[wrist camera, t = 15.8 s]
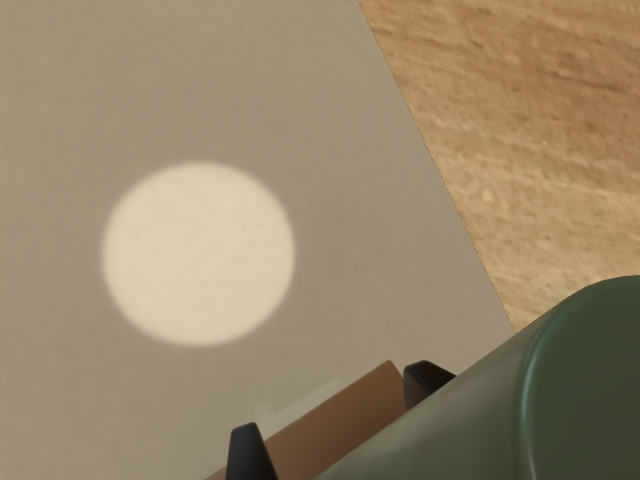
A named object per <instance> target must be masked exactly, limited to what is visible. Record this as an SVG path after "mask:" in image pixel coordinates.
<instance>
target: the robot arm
mask: <svg viewBox="0 0 640 480" xmlns="http://www.w3.org/2000/svg"><path fill="white" fill-rule="evenodd" d="M456 376H457V375H455V374H453V373H451V372H449V371H447V370H445V369H443V368H441V367H439V366H438V365H436V364H434V363H432V362H430V361H427V360H421V361H418V362H416V363H413V364H410V365H407V366H406V367H405V368H404V370H403V384H404V401H405V405H406V409H407V411H409V410H410V409H412V408H413V407H414V406H416V405H417V404H419V403H420V402H421V401H423V400H424V399H426V398H427V397H428V396H430V395H431V394H433V393H434V392H435V391H437V390H438V389H440V388H441V387H442V386H444V385H445V384H447V383H448V382H449V381H451V380H452V379H454V378H455V377H456ZM225 480H279V478H278V475H277V473H276V470H275V467H274V465H273V463H272V460H271V458H270V455H269V453H268V450H267V448H266V445H265V443H264V440H263V438H262V435H261V433H260V430H259V428H258V426H257V424H256V423H255V422H250V423H247V424H244V425H242V426H239V427H236V428H234V429H233V430H232V432H231V435H230V443H229V450H228V458H227V466H226V473H225Z"/></svg>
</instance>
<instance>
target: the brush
mask: <svg viewBox="0 0 640 480" xmlns="http://www.w3.org/2000/svg"><path fill="white" fill-rule="evenodd" d="M264 443H265V445H266V448H267V450H268V453H269V455H270V458H271V460H272V463H273V465H274V467H275V470H276V473H277V475H278V478H279V480H640V275H635V276H622V277H617V278H612V279H607V280H603V281H600V282H597V283H595V284H592V285H589V286H587V287H584V288H582V289H581V290H579V291H577V292H576V293H574V294H572V295H571V296H569V297H567V298H566V299H564V300H563V301H562V302H560V303H559V304H557V305H556V306H555V307H553V308H552V309H550V310H549V311H548V312H546V313H545V314H543V315H542V316H540V317H539V318H538V319H536V320H535V321H533V322H532V323H531V324H529V325H528V326H526V327H525V328H524V329H522V330H521V331H519V332H518V333H517V334H515V335H514V336H512V337H511V338H510V339H508V340H507V341H505V342H504V343H503V344H501V345H500V346H498V347H497V348H496V349H494V350H493V351H491V352H490V353H489V354H487V355H486V356H484V357H483V358H482V359H480V360H479V361H477V362H476V363H475V364H473V365H472V366H470V367H469V368H468V369H466V370H465V371H463V372H462V373H461V374H459V375H458V376H456V377H455V378H454V379H452V380H451V381H449V382H448V383H447V384H445V385H444V386H442V387H441V388H440V389H438V390H437V391H435V392H434V393H433V394H431V395H430V396H428V397H427V398H426V399H424V400H423V401H421V402H420V403H419V404H417V405H416V406H414V407H413V408H412V409H410V410H409V411H407V409H406V405H405V401H404V384H403V377H402V376H401V374H400V373H399V371H398V370H397V369H396V367H395V366H394V364H393V363H392V361H390V360H387V361H385V362H384V363H382V364H381V365H379V366H378V367H376V368H375V369H373V370H372V371H370V372H368V373H367V374H365V375H364V376H362V377H361V378H359V379H358V380H356V381H355V382H353V383H352V384H350V385H349V386H347V387H346V388H344V389H342V390H341V391H339V392H338V393H336V394H335V395H333V396H332V397H330V398H329V399H327V400H326V401H324V402H323V403H321V404H320V405H318V406H316V407H315V408H313V409H312V410H310V411H309V412H307V413H306V414H304V415H303V416H301V417H300V418H298V419H297V420H295V421H293V422H292V423H290V424H289V425H287V426H286V427H284V428H283V429H281V430H280V431H278V432H277V433H275V434H274V435H272V436H271V437H269V438H267V439H266V440H264ZM226 466H227V465H226ZM226 466H225V467H223V468H222V469H220V470H219V471H217V472H215V473H214V474H212V475H211V476H209V477H208V478H206V479H205V480H225V473H226Z"/></svg>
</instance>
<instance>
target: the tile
mask: <svg viewBox="0 0 640 480" xmlns="http://www.w3.org/2000/svg"><path fill="white" fill-rule="evenodd" d="M515 334H516V332H515V330H514V328H513V326H512V324H511V322H510V320H509V318H508V315H507V313H506V311H505V309H504V307H503V305H502V303H501V301H500V299H499V297H498V294H497V292H496V290H495V288H494V286H493V284H492V282H491V280H490V278H489V275H488V273H487V271H486V269H485V267H484V265H483V263H482V261H481V259H480V257H479V254H478V252H477V250H476V248H475V246H474V244H473V242H472V240H471V238H470V236H469V233H468V231H467V229H466V227H465V225H464V223H463V221H462V219H461V217H460V215H459V212H458V210H457V208H456V206H455V204H454V202H453V200H452V198H451V196H450V194H449V191H448V189H447V187H446V185H445V183H444V181H443V179H442V177H441V175H440V173H439V170H438V168H437V166H436V164H435V162H434V160H433V158H432V156H431V154H430V152H429V149H428V147H427V145H426V143H425V141H424V139H423V137H422V135H421V133H420V131H419V128H418V126H417V124H416V122H415V120H414V118H413V116H412V114H411V112H410V110H409V107H408V105H407V103H406V101H405V99H404V97H403V95H402V93H401V91H400V89H399V86H398V84H397V82H396V80H395V78H394V76H393V74H392V72H391V70H390V68H389V65H388V63H387V61H386V59H385V57H384V55H383V53H382V51H381V49H380V47H379V44H378V42H377V40H376V38H375V36H374V34H373V32H372V30H371V28H370V26H369V23H368V21H367V19H366V17H365V15H364V13H363V11H362V9H361V7H360V5H359V2H358V0H0V480H205V479H206V478H208V477H209V476H211V475H212V474H214V473H215V472H217V471H219V470H220V469H222V468H223V467H225V466H226V465H227V458H228V450H229V443H230V435H231V432H232V430H233V429H234V428H236V427H239V426H242V425H244V424H247V423H250V422H255V423H256V424H257V426H258V428H259V430H260V433H261V435H262V438H263V440H266V439H267V438H269V437H271V436H272V435H274V434H275V433H277V432H278V431H280V430H281V429H283V428H284V427H286V426H287V425H289V424H290V423H292V422H293V421H295V420H297V419H298V418H300V417H301V416H303V415H304V414H306V413H307V412H309V411H310V410H312V409H313V408H315V407H316V406H318V405H320V404H321V403H323V402H324V401H326V400H327V399H329V398H330V397H332V396H333V395H335V394H336V393H338V392H339V391H341V390H342V389H344V388H346V387H347V386H349V385H350V384H352V383H353V382H355V381H356V380H358V379H359V378H361V377H362V376H364V375H365V374H367V373H368V372H370V371H372V370H373V369H375V368H376V367H378V366H379V365H381V364H382V363H384V362H385V361H387V360H390V361H392V363H393V364H394V366H395V367H396V369H397V370H398V371H399V373H400V374H401V376H402V377H403V370H404V368H405V367H406V366H407V365H410V364H413V363H416V362H418V361H421V360H427V361H430V362H432V363H434V364H436V365H438V366H439V367H441V368H443V369H445V370H447V371H449V372H451V373H453V374H455V375H457V376H458V375H459V374H461V373H462V372H463V371H465V370H466V369H468V368H469V367H470V366H472V365H473V364H475V363H476V362H477V361H479V360H480V359H482V358H483V357H484V356H486V355H487V354H489V353H490V352H491V351H493V350H494V349H496V348H497V347H498V346H500V345H501V344H503V343H504V342H505V341H507V340H508V339H510V338H511V337H512V336H514V335H515Z"/></svg>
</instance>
